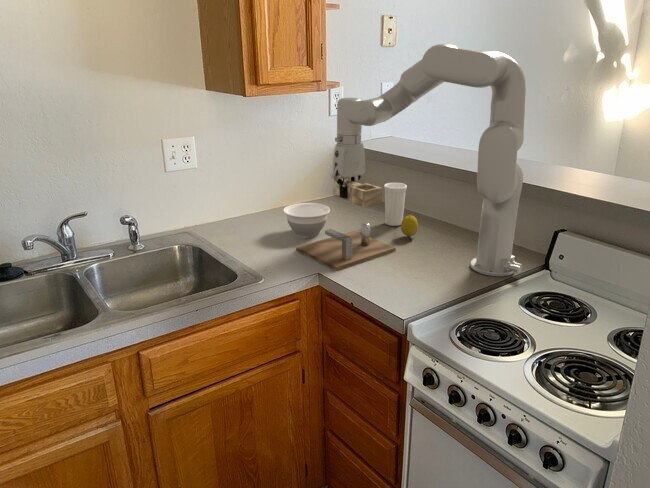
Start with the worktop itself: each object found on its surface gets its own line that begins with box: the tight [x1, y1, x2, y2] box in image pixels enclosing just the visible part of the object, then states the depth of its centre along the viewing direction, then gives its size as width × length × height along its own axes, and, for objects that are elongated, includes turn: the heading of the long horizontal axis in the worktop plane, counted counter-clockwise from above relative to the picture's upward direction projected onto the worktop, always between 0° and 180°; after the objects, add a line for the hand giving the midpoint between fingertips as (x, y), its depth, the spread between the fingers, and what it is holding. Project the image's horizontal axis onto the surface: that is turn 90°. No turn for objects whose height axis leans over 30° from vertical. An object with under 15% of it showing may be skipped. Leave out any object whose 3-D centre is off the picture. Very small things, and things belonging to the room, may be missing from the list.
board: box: [295, 230, 397, 272], centre depth 168 cm, size 20×24×1 cm
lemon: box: [400, 214, 419, 238], centre depth 178 cm, size 6×6×8 cm
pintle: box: [360, 221, 371, 246], centre depth 169 cm, size 3×3×7 cm
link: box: [333, 178, 383, 209], centre depth 168 cm, size 17×7×5 cm, turn 38°
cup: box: [383, 182, 408, 227], centre depth 190 cm, size 8×8×14 cm
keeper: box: [324, 228, 353, 260], centre depth 161 cm, size 10×2×7 cm, turn 38°
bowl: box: [282, 202, 331, 239], centre depth 183 cm, size 16×16×9 cm
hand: (347, 196), depth 172 cm, fingers closed on link, 3 cm apart
